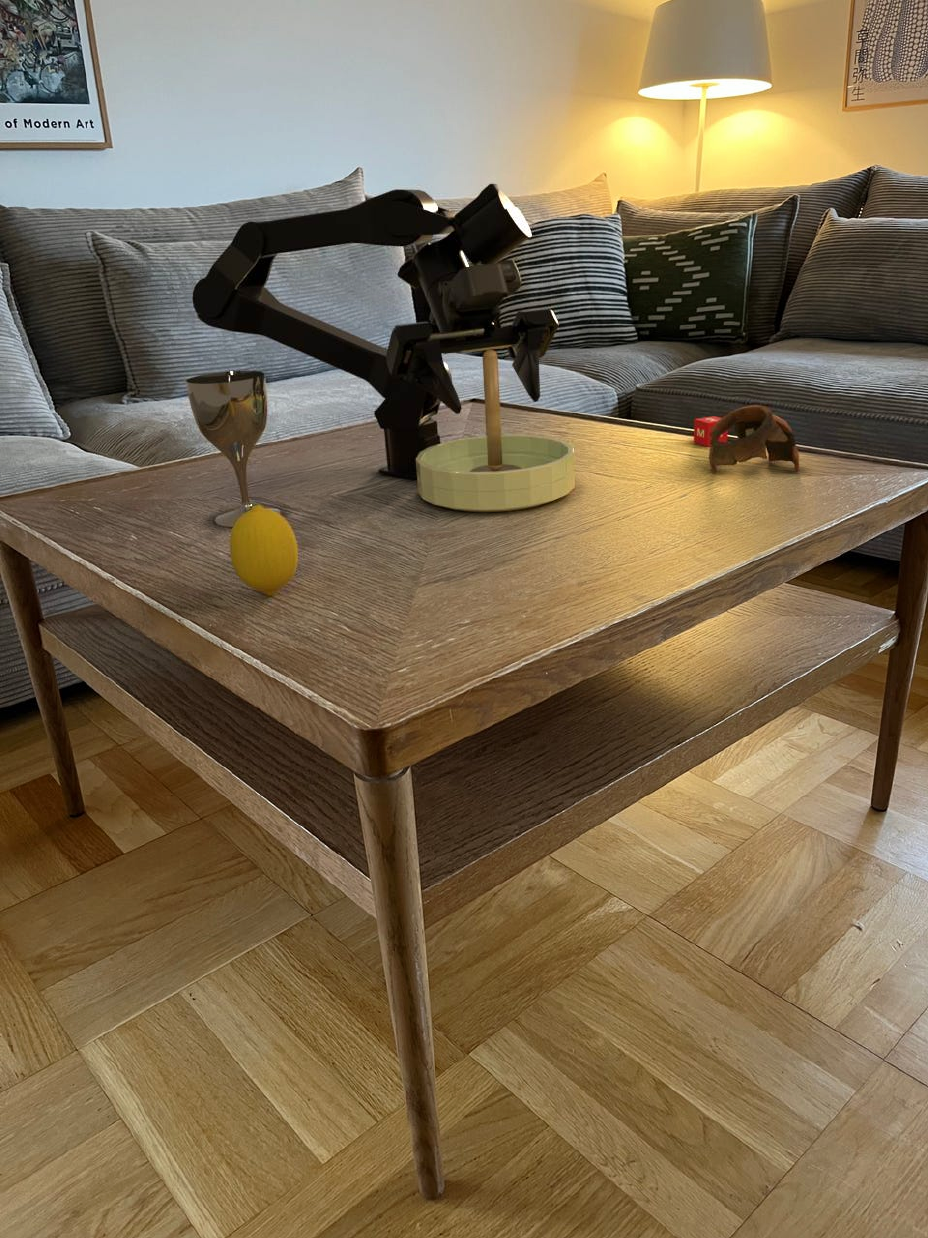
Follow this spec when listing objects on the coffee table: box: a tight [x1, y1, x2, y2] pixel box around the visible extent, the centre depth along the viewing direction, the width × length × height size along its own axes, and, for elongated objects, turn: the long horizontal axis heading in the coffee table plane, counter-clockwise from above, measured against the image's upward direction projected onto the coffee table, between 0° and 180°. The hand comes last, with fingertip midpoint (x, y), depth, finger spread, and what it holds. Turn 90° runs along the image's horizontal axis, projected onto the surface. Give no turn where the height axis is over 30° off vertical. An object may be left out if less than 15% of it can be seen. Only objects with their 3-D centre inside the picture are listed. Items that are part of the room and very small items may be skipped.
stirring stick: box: [469, 349, 522, 472], centre depth 99 cm, size 6×6×15 cm
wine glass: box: [185, 370, 282, 528], centre depth 97 cm, size 8×8×15 cm
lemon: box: [229, 504, 299, 597], centre depth 76 cm, size 6×6×8 cm
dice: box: [693, 415, 729, 448], centre depth 117 cm, size 3×3×3 cm
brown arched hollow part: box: [708, 404, 801, 473], centre depth 104 cm, size 12×10×8 cm
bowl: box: [416, 434, 576, 513], centre depth 102 cm, size 17×17×4 cm
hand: (498, 405), depth 97 cm, fingers open, 9 cm apart
